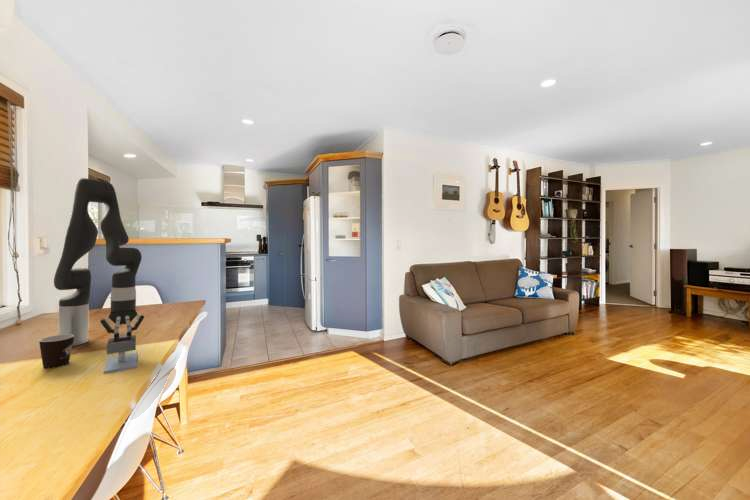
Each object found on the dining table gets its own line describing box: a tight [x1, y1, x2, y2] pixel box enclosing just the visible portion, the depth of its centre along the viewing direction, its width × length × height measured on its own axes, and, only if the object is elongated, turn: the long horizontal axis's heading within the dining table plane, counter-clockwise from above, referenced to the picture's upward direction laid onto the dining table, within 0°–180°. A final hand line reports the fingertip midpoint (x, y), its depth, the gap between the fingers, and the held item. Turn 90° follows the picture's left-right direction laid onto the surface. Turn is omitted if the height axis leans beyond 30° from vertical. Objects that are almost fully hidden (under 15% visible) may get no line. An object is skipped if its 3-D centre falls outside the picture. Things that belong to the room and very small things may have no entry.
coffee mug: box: [38, 334, 74, 370], centre depth 109 cm, size 12×9×10 cm
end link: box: [106, 332, 137, 355], centre depth 113 cm, size 14×8×4 cm, turn 39°
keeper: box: [103, 351, 138, 375], centre depth 111 cm, size 16×9×8 cm, turn 39°
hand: (122, 341), depth 115 cm, fingers closed on end link, 2 cm apart
